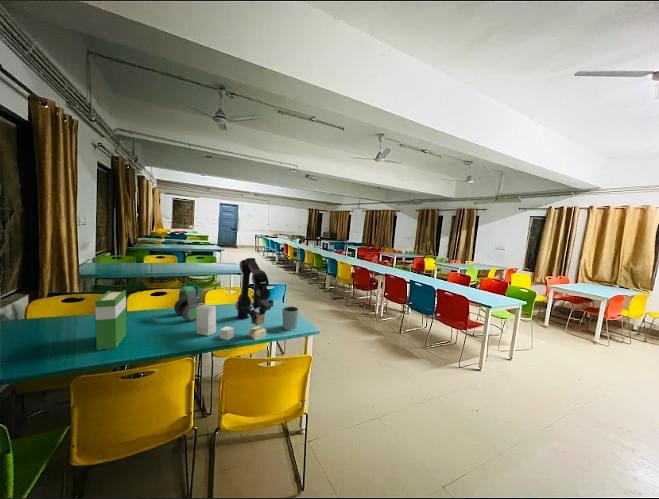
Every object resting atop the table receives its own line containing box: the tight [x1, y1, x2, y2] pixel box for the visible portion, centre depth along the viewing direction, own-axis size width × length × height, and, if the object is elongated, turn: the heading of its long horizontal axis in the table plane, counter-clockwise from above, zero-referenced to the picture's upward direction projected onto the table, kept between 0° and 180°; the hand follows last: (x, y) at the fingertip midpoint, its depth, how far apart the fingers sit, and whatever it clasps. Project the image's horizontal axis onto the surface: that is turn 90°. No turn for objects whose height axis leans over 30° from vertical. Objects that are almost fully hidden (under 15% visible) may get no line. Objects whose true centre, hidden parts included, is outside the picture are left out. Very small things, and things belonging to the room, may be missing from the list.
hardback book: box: [94, 289, 127, 351], centre depth 135 cm, size 18×7×24 cm, turn 24°
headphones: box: [173, 286, 200, 322], centre depth 172 cm, size 19×11×20 cm, turn 48°
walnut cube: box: [250, 312, 265, 327], centre depth 152 cm, size 5×5×5 cm
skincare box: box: [196, 304, 217, 337], centre depth 152 cm, size 8×7×16 cm
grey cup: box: [281, 306, 299, 331], centre depth 167 cm, size 10×10×12 cm
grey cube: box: [219, 326, 235, 341], centre depth 149 cm, size 5×5×5 cm
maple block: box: [248, 325, 267, 340], centre depth 153 cm, size 7×7×4 cm
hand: (257, 321), depth 152 cm, fingers closed on walnut cube, 5 cm apart
